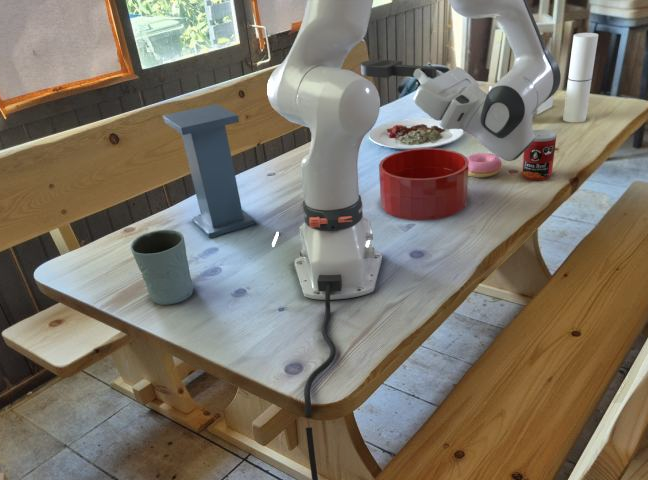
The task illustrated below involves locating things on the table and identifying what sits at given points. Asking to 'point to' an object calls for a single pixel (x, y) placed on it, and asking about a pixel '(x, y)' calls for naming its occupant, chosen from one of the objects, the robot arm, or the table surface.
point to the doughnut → (483, 165)
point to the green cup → (163, 265)
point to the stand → (211, 168)
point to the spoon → (393, 69)
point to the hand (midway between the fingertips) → (419, 69)
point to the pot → (424, 183)
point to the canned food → (539, 156)
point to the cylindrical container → (580, 76)
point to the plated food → (413, 134)
